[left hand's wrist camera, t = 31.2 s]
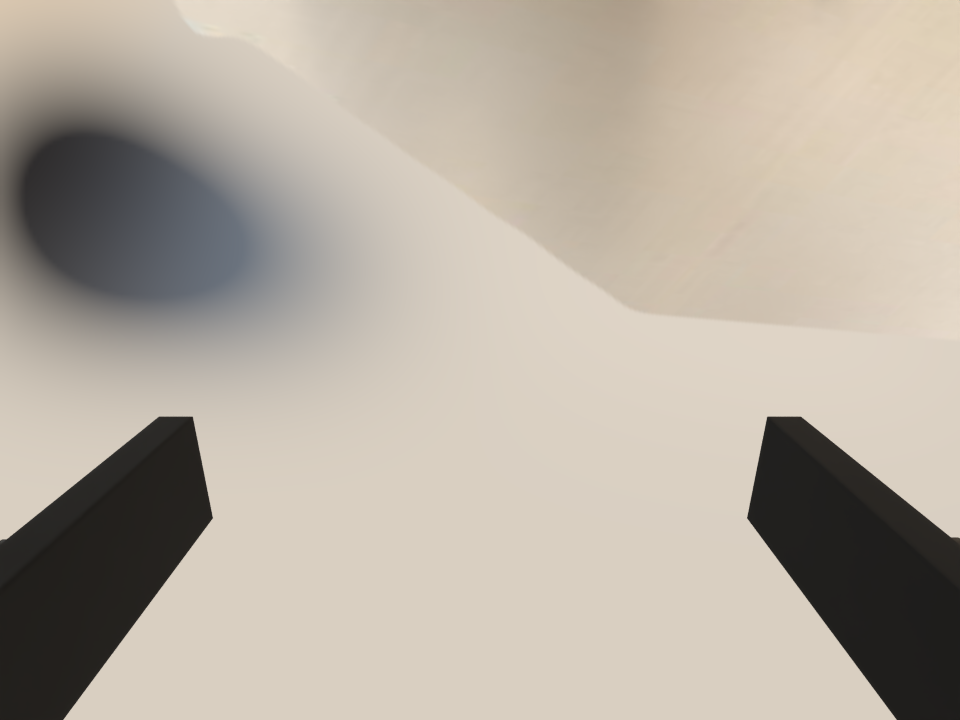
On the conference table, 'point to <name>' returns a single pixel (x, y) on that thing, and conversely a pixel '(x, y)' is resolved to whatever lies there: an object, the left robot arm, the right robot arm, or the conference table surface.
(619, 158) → the conference table surface
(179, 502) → the left robot arm
